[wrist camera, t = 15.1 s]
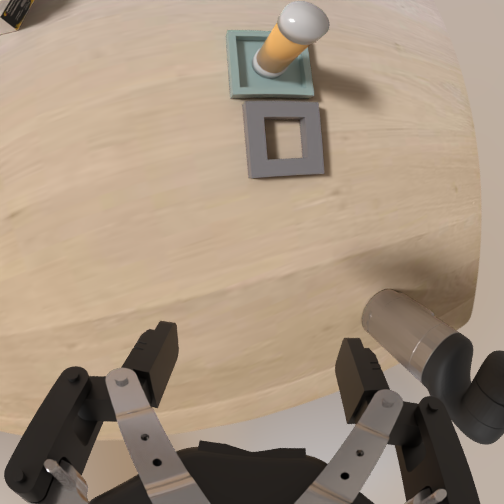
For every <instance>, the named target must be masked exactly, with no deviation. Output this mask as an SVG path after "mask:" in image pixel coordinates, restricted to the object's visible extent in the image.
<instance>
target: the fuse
mask: <svg viewBox="0 0 504 504" xmlns="http://www.w3.org/2000/svg"><path fill="white" fill-rule="evenodd" d="M328 30H329V20H328V17H327V16H326V14H325V13H324V12H323V11H322V10H321V9H320V8H319V7H317V6H316V5H314V4H312V3H309V2H305V1H294V2H291V3H289V4H288V5H287V6H286V7H285V8H284V10H283V11H282V13H281V14H280V16H279V17H278V20H277V24H276V25H275V27H274V28H273V30H272V31H271V33H270V34H269V36H268V37H267V39H266V40H265V42H264V44H263V45H262V47H261V48H260V49H258V50H257V52H256V54H255V55H254V57H253V59H252V68H253V70H254V71H255V73H256V74H258V75H259V76H260V77H263V78H265V79H275V78H277V77H279V76H281V75H282V74H283V73H284V72H285V71H286V70H287V68H288V66H289V65H290V64H291V63H292V62H293V61H294V60H295V59H296V58H297V57H298V56H299V55H300V54H301V53H302V52H303V51H304V50H305V49H306V48H307V47H308V46H309V45H311V44H313V43H315V42H317V41H318V40H319V39H320V38H321V37H322V36H323V35H325V34H326V33H327V31H328Z"/></svg>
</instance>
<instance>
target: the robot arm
mask: <svg viewBox="0 0 504 504" xmlns="http://www.w3.org/2000/svg"><path fill="white" fill-rule="evenodd" d="M362 325H363V328H364V329H365V330H366V331H367V332H368V333H369V334H370V335H371V336H372V337H373V338H374V339H375V340H376V341H377V342H378V343H379V344H380V345H381V346H382V347H384V348H385V349H386V350H387V351H388V352H389V353H390V354H391V355H392V356H393V357H394V358H395V359H396V360H397V361H398V362H400V363H401V364H402V365H403V366H404V367H405V368H406V369H407V370H408V371H409V372H410V373H411V374H412V375H414V377H416V378H417V379H418V380H419V381H420V382H421V383H422V384H423V385H424V386H425V387H426V388H427V389H428V391H429V394H430V396H428V397H424V398H423V399H422V400H421V401H420V403H419V404H417V403H410V402H404V401H403V400H402V398H401V396H400V395H399V394H398V393H396V392H394V391H392V390H390V389H389V386H388V384H387V381H386V379H385V376H384V374H383V372H382V370H381V367H380V365H379V364H378V360H377V358H376V355H375V354H374V353H373V352H372V351H371V350H370V349H369V348H364V347H363V344H362V342H361V340H360V338H344V339H343V342H342V345H341V348H340V351H339V354H338V357H337V360H336V365H335V373H336V377H337V382H338V386H339V390H340V394H341V399H342V403H343V407H344V411H345V416H346V421H347V424H356V425H355V427H354V428H353V430H352V431H351V433H350V434H349V436H348V437H347V439H346V440H345V441H344V443H343V444H342V446H341V447H340V449H339V450H338V451H337V453H336V454H335V455H334V457H333V458H332V460H331V461H330V462H329V463H328V464H327V463H325V462H323V461H322V460H320V459H317V458H315V457H311V456H308V455H306V452H305V451H306V450H305V448H278V449H272V450H265V451H259V452H249V451H246V450H243V449H239V448H236V447H233V446H230V445H227V444H221V443H213V442H207V441H200V442H199V446H198V447H191V448H186V449H182V450H179V451H175V449H174V448H173V446H172V444H171V442H170V440H169V439H168V437H167V435H166V433H165V431H164V429H163V427H162V425H161V423H160V421H159V419H158V417H157V415H156V413H155V411H154V409H153V408H152V407H155V408H158V406H159V403H160V401H161V398H162V396H163V393H164V391H165V388H166V386H167V383H168V381H169V378H170V376H171V373H172V371H173V368H174V366H175V363H176V361H177V358H178V352H179V347H178V336H177V325H176V323H172V322H166V321H160V322H159V324H158V325H157V327H156V329H155V330H152V329H149V330H147V331H146V332H144V333H143V334H142V335H141V336H140V338H139V339H138V341H137V343H136V344H135V346H134V348H133V349H132V351H131V352H130V354H129V356H128V357H127V359H126V361H125V362H124V364H123V366H122V367H121V368H117V369H114V370H112V371H110V372H109V373H108V374H107V376H104V377H98V376H89V375H88V373H87V371H86V370H85V369H84V368H81V367H76V366H75V367H70V368H67V369H66V370H64V371H63V372H62V373H61V375H60V376H59V378H58V379H57V381H56V382H55V384H54V385H53V387H52V388H51V390H50V392H49V393H48V395H47V396H46V398H45V399H44V401H43V403H42V404H41V406H40V407H39V409H38V411H37V412H36V414H35V416H34V417H33V419H32V421H31V422H30V424H29V426H28V427H27V429H26V431H25V433H24V434H23V436H22V438H21V440H20V442H19V443H18V445H17V447H16V449H15V451H14V453H13V455H12V457H11V458H10V460H9V462H8V464H7V466H6V469H5V473H4V477H5V481H6V483H7V485H8V486H9V487H10V488H11V489H12V490H13V491H14V492H15V493H17V494H18V495H19V496H21V497H22V498H23V499H24V500H25V501H26V502H28V503H29V504H374V503H373V502H371V501H370V500H369V499H368V498H367V497H365V496H364V495H363V494H362V493H360V492H359V491H360V490H361V488H362V487H363V485H364V483H365V482H366V480H367V479H368V477H369V475H370V473H371V472H372V470H373V469H374V467H375V465H376V463H377V462H378V460H379V458H380V456H381V454H382V452H383V450H384V449H385V447H386V445H387V444H391V445H395V448H396V452H397V457H398V461H399V466H400V471H401V475H402V480H403V485H404V491H405V496H406V503H405V504H480V501H479V498H478V494H477V490H476V487H475V484H474V481H473V477H472V474H471V471H470V468H469V465H468V463H467V460H466V457H465V454H464V451H463V449H462V446H461V444H460V441H459V438H458V436H457V433H456V431H455V429H454V426H453V424H452V421H453V422H454V424H455V425H456V426H457V427H458V428H459V429H460V430H461V431H462V432H463V433H464V434H465V435H466V436H467V437H469V438H470V439H472V440H473V441H475V442H477V443H480V444H491V443H494V442H496V441H497V440H498V439H499V438H500V437H501V436H502V435H503V434H504V351H494V352H492V353H491V354H489V355H488V356H487V358H486V359H485V361H484V362H483V364H482V365H481V367H480V369H479V370H478V372H477V374H476V376H475V378H474V379H473V381H472V383H471V380H470V369H471V362H472V356H473V345H472V343H471V341H470V340H469V339H468V338H466V337H465V336H464V335H462V334H461V333H459V332H458V331H456V330H455V329H453V328H452V327H450V326H449V325H447V324H446V323H444V322H443V321H441V320H440V319H438V318H437V317H435V316H434V313H433V312H432V311H431V310H429V309H428V308H426V307H424V306H423V305H421V304H420V303H418V302H416V301H415V300H413V299H412V298H410V297H408V296H407V295H405V294H404V293H402V292H400V293H398V292H396V291H394V290H392V289H386V290H382V291H380V292H379V293H377V294H376V295H374V296H373V297H372V298H371V300H370V301H369V302H368V304H367V305H366V307H365V309H364V312H363V316H362ZM150 406H151V407H150ZM451 420H452V421H451ZM104 421H112V422H118V425H119V428H120V431H121V433H122V436H123V439H124V441H125V444H126V446H127V449H128V451H129V454H130V456H131V458H132V461H133V463H134V465H135V467H136V470H137V472H138V475H137V476H134V477H133V478H131V479H129V480H128V481H126V482H124V483H122V484H120V485H118V486H116V487H115V488H113V489H111V490H109V491H107V492H105V493H103V494H101V495H99V496H97V497H95V498H94V499H92V500H91V501H90V502H89V501H88V498H87V492H88V486H87V483H86V481H85V479H84V478H83V477H82V473H83V471H84V468H85V465H86V463H87V460H88V458H89V455H90V453H91V450H92V448H93V445H94V443H95V440H96V438H97V436H98V433H99V431H100V429H101V426H102V424H103V422H104Z"/></svg>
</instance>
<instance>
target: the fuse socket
mask: <svg viewBox="0 0 504 504" xmlns="http://www.w3.org/2000/svg"><path fill="white" fill-rule="evenodd" d="M242 107H243V119H244V130H245V142H246V154H247V166H248V178H260V177H273V176H288V175H306V174H324V161H323V147H322V135H321V124H320V113H319V104H318V102H299V101H245V102H244V104H243V105H242ZM273 119H297V120H299V121H300V132H301V143H302V156H303V158H291V159H270V160H267V148H266V136H265V124H264V120H273Z"/></svg>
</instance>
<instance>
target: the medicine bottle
mask: <svg viewBox="0 0 504 504" xmlns="http://www.w3.org/2000/svg"><path fill="white" fill-rule="evenodd" d="M34 1H35V0H0V35H1V34H5V33H9V32H14V31H17V30H18V29H19V27H20V25H21V24H22V22H23V20H24V18H25V16H26V14H27V12H28V11H29V9H30V7H31V6H32V4H33V2H34Z"/></svg>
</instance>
